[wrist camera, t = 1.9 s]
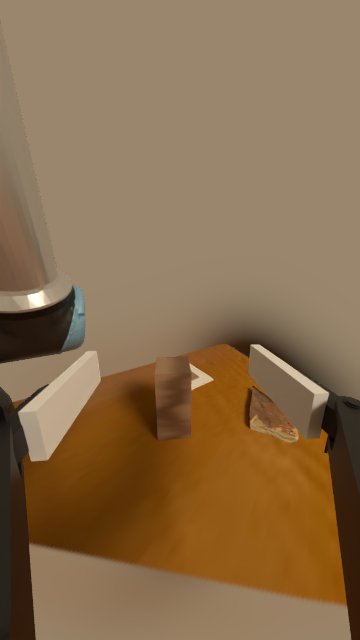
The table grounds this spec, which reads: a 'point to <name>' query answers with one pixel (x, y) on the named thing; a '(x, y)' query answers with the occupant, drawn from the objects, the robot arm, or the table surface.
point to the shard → (270, 418)
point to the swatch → (198, 377)
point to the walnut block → (173, 397)
